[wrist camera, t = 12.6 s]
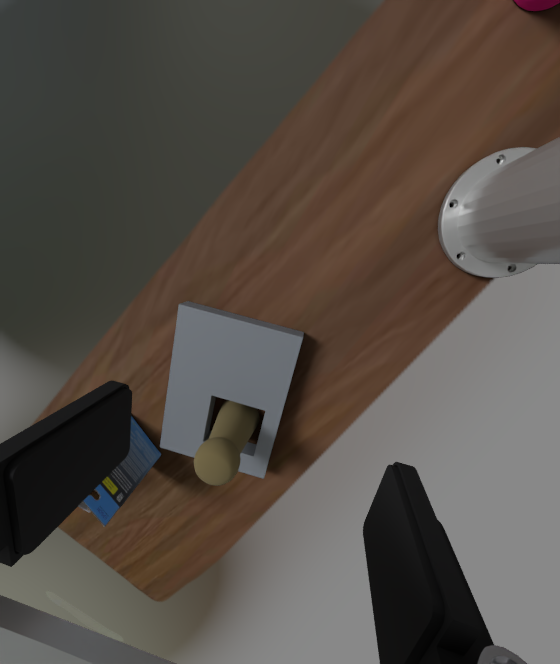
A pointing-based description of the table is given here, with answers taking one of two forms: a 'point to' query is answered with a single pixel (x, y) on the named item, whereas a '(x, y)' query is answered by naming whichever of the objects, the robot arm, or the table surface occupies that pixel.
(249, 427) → the cork
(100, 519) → the blue and white box
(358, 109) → the table surface
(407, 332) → the table surface
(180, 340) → the socket board
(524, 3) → the pepper mill
